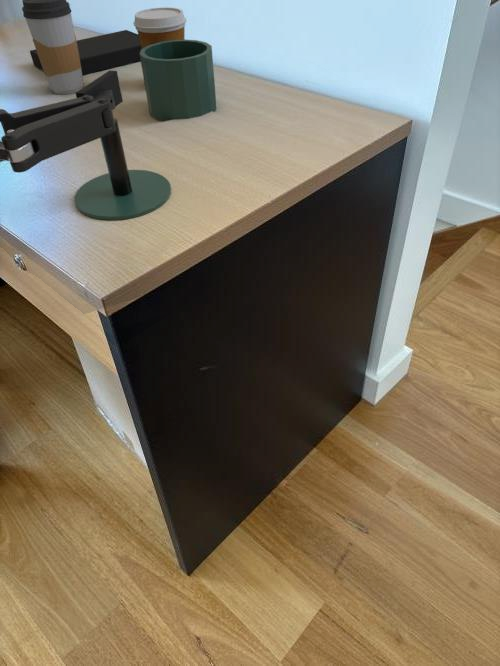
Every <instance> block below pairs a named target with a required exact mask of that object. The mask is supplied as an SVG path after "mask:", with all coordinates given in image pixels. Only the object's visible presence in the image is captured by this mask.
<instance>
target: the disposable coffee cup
mask: <svg viewBox="0 0 500 666" xmlns="http://www.w3.org/2000/svg"><path fill="white" fill-rule="evenodd" d="M132 23H133V27H135V30H136V32H137V34H138V35H139V39H140V43H141V46H142V49H143V48H145V47H146V46H148V45H151V44H155V43H158V42H164V41H170V40H186V39H185V35H186V34H185V30H186V29H185V27H186V23H187V17H185V14H184V11H183V9H181V8H177V7H166V6H165V7H164V6H163V7H152V8H146V9H142V10H139V11H136V12H135V14H134V21H133V22H132Z"/></svg>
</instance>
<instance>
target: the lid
mask: <svg viewBox="0 0 500 666" xmlns="http://www.w3.org/2000/svg"><path fill="white" fill-rule="evenodd" d="M114 123H115V128H116V131H115V132H114V133H111V134H109V135H106V136H104V137H101V138H99V139H100V143H101V147H102V151H103V155H104V159H105V164H106V167H107V172H108V173H104V174H101V175H98V176H96V177H94V178H92V179H90V180H88V181H86V182H85V183H84V184H82V185H81V186H79V188H78V189H77V190H76V192H75V194H74V200H73V201H74V204H75V207H76V209H77V210H78V211H79V212H80V213H81V214H83V215H84V216H86V217H90V218H92V219H97V220H103V221H121V220H129V219H133V218H138V217H140V216H144V215H147V214H150V213H151V212H153V211H154V212H155V211H156V210H158V209H159V208H160V207H162V206H164V204H165V203H167V201H168V200H169V199H170V196H171V194H172V187H171V183H170V181H169V179H167V178H166V177H165V175H162V174H160V173H157V172H155V171H150V170H144V169H129V168H128V163H127V160H126V155H125V149H124V146H123V140H122V136H121V132H120V127H119V122H118V119H116V118H114Z"/></svg>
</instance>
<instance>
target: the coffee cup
mask: <svg viewBox="0 0 500 666" xmlns="http://www.w3.org/2000/svg"><path fill="white" fill-rule="evenodd" d="M21 1H22V2H21V3H22V7H21V10H22V13H23V14H22V16H23V18H25V21H26V24H27V28H28V29H29V32H30V35H31V38H32V42H33V45H34V48H35V49H36V51H37V54H38V56H39V59H40V62H41V65H42V68H43V70H44V72H43V74H44V76H45V77H46V80H47V83H48V85H49V88H50V90H52V92H53V94H56V95H69V94H74V93H75V94H76V92H78V91H79V90H81V89H82V88H84V84H85V82H84V78H83V76H84V75H82V71H81V63H80V58H79V52H78V47H77V36H76V33H75V28H74V22H73V17H72V9H71V7H70V2H68V1H67V0H21Z"/></svg>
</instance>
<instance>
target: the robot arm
mask: <svg viewBox="0 0 500 666" xmlns="http://www.w3.org/2000/svg"><path fill="white" fill-rule="evenodd" d="M118 75H119V74H118V71H117V70H108V71H106V72H105V73H103V74H102V75H100V76H99V77H98V78H96V79H94V80H92V82H90V83H88V84H86V86H83V88H82V89H81V90H79V91H78V92H75V98H70V99H66V100H62V101H58V102H54V103H49V104H45V105H42V106H37V107H33V108H29V109H24V110H20V111H16V112H11V113H10V112H9V111H7V110H6V109H4V108H0V125H1V127H2V130H3V133H4V135H3V136H1V138H0V163H2V162H9V164H10V167H11V169H12V171H13V172H14V173H24V172H27V171H29V170H31V169H32V168H33V167H34V166H37V165H38V164H39V163H41V162H43V161H45V160H48V159H50V158H52V157H56V156H58V155H60V154H64V153H65V152H68V151H70V150H73V149H75V148H78V147H81V146H83V145H86V144H88V143H91V142H93V141H95V140H98V139H100V138H101V137H104V136H106V135H109V134H111V133H114V132H115V131H116V128H115V123H114V119H115V118H114V114H113V110H115V109H116V107H118V106H119V105H121V103H123V102H124V99H123V95H122V90H121V84H120V79H119V76H118Z"/></svg>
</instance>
